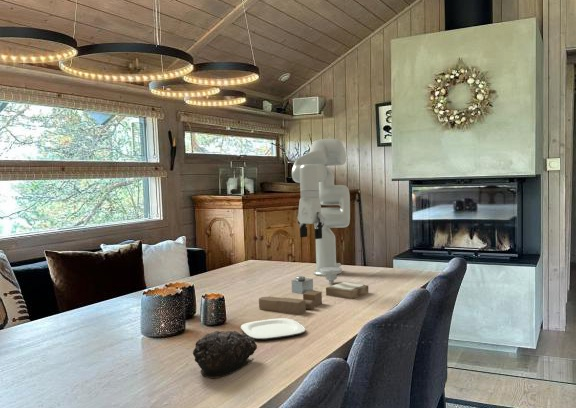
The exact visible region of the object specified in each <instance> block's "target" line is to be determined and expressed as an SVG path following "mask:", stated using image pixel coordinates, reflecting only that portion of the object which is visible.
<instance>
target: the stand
mask: <svg viewBox="0 0 576 408" xmlns="http://www.w3.org/2000/svg"><path fill="white" fill-rule="evenodd" d="M367 294H369V285H367V284H364V283H354V282H349V281H348V282H347V281H343V282H339V283H336V284H332V285H329V286H327V287H325V295H326V296H329V297H335V298H336V297H337V298H341V299H342V298H343V299H349V300H353V299H356V298H359V297H362V296H364V295H365V296H366V295H367Z"/></svg>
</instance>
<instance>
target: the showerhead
mask: <svg viewBox="0 0 576 408" xmlns="http://www.w3.org/2000/svg"><path fill="white" fill-rule="evenodd" d="M320 272H321V273H323V274H326V276H325V280H327V281H328V284H329V285H334V284H335V280H337V279H338V275H339V274H341V273H342V272H343V268H341V267H325V268H321V269H320ZM333 283H334V284H333Z"/></svg>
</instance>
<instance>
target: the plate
mask: <svg viewBox="0 0 576 408" xmlns="http://www.w3.org/2000/svg"><path fill="white" fill-rule="evenodd" d="M240 329H241V331H242V332H243V334H245V335H246V336H247V337H249V336H250V337H253V338H254V340H275V339H282V338H289V337H291V336H297V335H301V334H303V333H305V332H306V328H305V327H304V326H303V325H302V323H299V322H298V321H296V320H295V319H292V318H287V317H285V318H284V317H283V318H282V317H280V318H279V317H278V318H269V319H263V320H262V319H261V320H255V321H249V322H245V323H243V324H241V326H240Z"/></svg>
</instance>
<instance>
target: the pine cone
mask: <svg viewBox="0 0 576 408" xmlns="http://www.w3.org/2000/svg"><path fill="white" fill-rule="evenodd" d="M257 349H258V345H257V343H256V342H255V339H254V338H253V337H250V336H247V335H246V334H245V333H240V332H239V331H236V330H234V331H233V330H227V331H224V330H223V331H218V330H216V331H213V332H210V333H206V334H205V335H204V336H202V337H201V338H198V340H197V341H196V342H195V347H194V348H193V351H192V355H193V356H194V361H195V363H197V365H198V366H199V368H200V369H201V370H200V373H201V375H202V376H204V377H206V378H209V379H218V378H222V377H226V376H229V375H230V374H233V373H235V372H238V371H239V370H241V369H242V368H244V367H246V366H248V365H249V364H251V363H252V362H253V361H254V360H255V358H252V357H251V358H250V356H253V355H254V353H255V352H256V351H257ZM249 358H250V359H249Z"/></svg>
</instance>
